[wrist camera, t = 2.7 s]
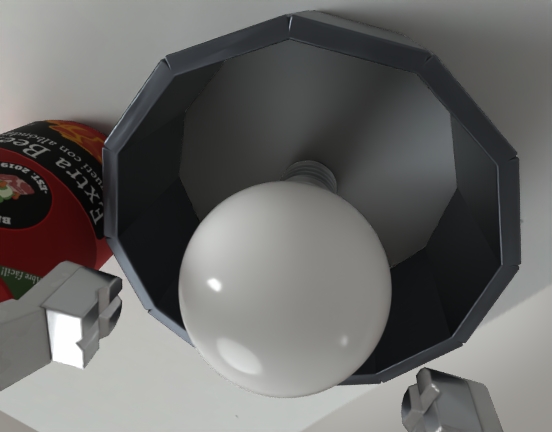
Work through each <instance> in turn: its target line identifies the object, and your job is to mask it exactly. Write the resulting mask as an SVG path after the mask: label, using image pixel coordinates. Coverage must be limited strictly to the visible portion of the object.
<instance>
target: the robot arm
mask: <svg viewBox="0 0 552 432" xmlns="http://www.w3.org/2000/svg"><path fill="white" fill-rule="evenodd" d="M121 290H122V279H121V278H120V277H117V276H114V275H111V274H108V273H105V272H102V271H99V270H96V269H93V268H89V267H86V266H82V265H79V264H76V263H73V262H70V261H64V262H61V263H59V264H58V265H57V266H56V267H55V268H54V269H53V270H51V271H50V272H49V273H48V274H47V275H46V276H45V277H44V278H42V279H41V280H40V281H39V282H38V283H37V284H36V285H34V286H33V287H32V288H31V289H30V290H29V291H28V292H27V293H25V294H24V295H23V296H22V297H21V298H20V299H19V300H14V299H10V300H7V301H4V302H1V303H0V391H2V390H3V389H5V388H7V387H9V386H10V385H12V384H14V383H16V382H17V381H19V380H21V379H23V378H24V377H26V376H28V375H30V374H31V373H33V372H35V371H37V370H38V369H40V368H42V367H44V366H45V365H47V364H49V363H50V362H51V361H55V362H59V363H62V364H66V365H70V366H73V367H77V368H81V369H84V368H85V367H86V366H87V364H88V363H89V362H90V360H91V359H92V357H93V356H94V355H95V353H96V352H97V351H98V349H99V339H101V338H104V337H106V336H108V335H109V334H110V333H111V331H112V330H113V329H114V327H115V325H116V323H117V321H118V319H119V317H120V313H121V309H122V300H121V299H120V297H119V296H118V293H119V292H120V291H121ZM416 378H417V384H414V385H411V386H409V387H408V389H407V391H406V393H405V394H404V397H403V402H402V410H401V414H402V423H403V425H404V426H405V428H406V429H407V431H408V432H503V430H502V427H501V424H500V421H499V419H498V416H497V414H496V411H495V408H494V405H493V403H492V400H491V397H490V395H489V392H488V389H487V388H486V386H485V385H484V384H482V383H478V382H475V381H472V380H468V379H464V378H461V377H458V376H454V375H451V374H447V373H444V372H440V371H437V370H433V369H429V368H426V367H424V368H422V369H420V371H419V372H418V374H417V375H416Z"/></svg>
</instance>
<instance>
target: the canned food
mask: <svg viewBox="0 0 552 432" xmlns="http://www.w3.org/2000/svg"><path fill="white" fill-rule="evenodd" d="M106 139H107V137H106V136H105V135H103V134H102V133H100V132H99V131H97V130H95V129H93V128H91V127H89V126H86V125H83V124H80V123H76V122H71V121H61V120H45V121H37V122H33V123H30V124H27V125H25V126H22V127H19V128H17V129H14V130H11V131H8V132H6V133H3V134H0V303H1V302H4V301H7V300H10V299H14V300H19V299H20V298H21V297H22V296H23V295H24V294H25V293H27V292H28V291H29V290H30V289H31V288H32V287H33V286H34V285H36V284H37V283H38V282H39V281H40V280H41V279H42V278H44V277H45V276H46V275H47V274H48V273H49V272H50V271H51V270H53V269H54V268H55V267H56V266H57V265H58V264H59V263H61V262H64V261H70V262H73V263H76V264H79V265H82V266H86V267H89V268H93V269H96V270H99V269H100V268H101V267H102V266H103V265H104V264H105V262H106V261H107V260H108V259H109V258H110V257H111V256H112V255H113V253H112V251H111V249H110V247H109V246H108V244H107V242H106V240H105V237H106V236H104V235H103V169H102V148H103V147H104V146H105V145H104V142H105V140H106Z"/></svg>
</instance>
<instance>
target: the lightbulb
mask: <svg viewBox="0 0 552 432" xmlns="http://www.w3.org/2000/svg"><path fill="white" fill-rule="evenodd" d="M336 193H337V184H336V180H335V177H334V175H333V174H332V172H331V171H330V170H329V169H328V168H327V167H326V166H324V165H323V164H321V163H318V162H315V161H300V162H297V163H294V164H293V165H291V166H289V167H288V168H287V169H286V170H285V172H284V173H283V175H282V177H281V180H280V181H274V182H267V183H262V184H258V185H254V186H251V187H248V188H246V189H243V190H241V191H239V192H237V193H235V194H233V195H231V196H230V197H228V198H227V199H225V200H224V201H222V202H221V203H220V204H219V205H217V206H216V207H215V208H214V209H213V210H212V211H211V212H210V213H209V214H208V215H207V216H206V217H205V218H204V219H203V221H202V222H201V223H200V224H199V226H198V227H197V229H196V230H195V232H194V234H193V235H192V237H191V239H190V241H189V243H188V246H187V248H186V251H185V253H184V256H183V260H182V263H181V268H180V274H179V283H178V296H179V305H180V311H181V316H182V319H183V323H184V326H185V328H186V331H187V333H188V335H189V338H190V340H191V341H192V343H193V345H194V347H195V348H196V350H197V351H198V353H199V354H200V356H201V357H202V358H203V359H204V361H205V362H206V363H207V364H208V365H209V366H210V367H211V368H212V369H213V370H214V371H215V372H216V373H218V374H219V375H220V376H221V377H223V378H224V379H226V380H227V381H229V382H230V383H232V384H234V385H235V386H237V387H239V388H241V389H244V390H246V391H249V392H251V393H255V394H258V395H262V396H267V397H274V398H297V397H304V396H309V395H313V394H316V393H320V392H322V391H325V390H327V389H330V388H332V387H334V386H336V385H337V384H339V383H341V382H342V381H344V380H345V379H347V378H348V377H349V376H351V375H352V374H353V373H354V372H355V371H357V370H358V369H359V368H360V367H361V366H362V365H363V364H364V362H365V361H366V360H367V359H368V358H369V356H370V355H371V354H372V352H373V351H374V349H375V348H376V346H377V344H378V343H379V341H380V339H381V337H382V334H383V332H384V330H385V327H386V324H387V321H388V317H389V313H390V307H391V299H392V281H391V273H390V268H389V263H388V260H387V256H386V253H385V251H384V248H383V246H382V244H381V241H380V239H379V238H378V236H377V234H376V232H375V231H374V229H373V228H372V226H371V225H370V224H369V222H368V221H367V220H366V219H365V217H364V216H363V215H362V214H361V213H360V212H359V211H358V210H357V209H356V208H355V207H354V206H352V205H351V204H350V203H349V202H347V201H346V200H344V199H343V198H341V197H340V196H338V195H336Z"/></svg>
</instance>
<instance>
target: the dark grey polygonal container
mask: <svg viewBox="0 0 552 432" xmlns="http://www.w3.org/2000/svg"><path fill="white" fill-rule="evenodd" d="M286 40H293V41H297V42H301V43H304V44H308V45H312V46H315V47H319V48H323V49H326V50H330V51H334V52H338V53H341V54H345V55H349V56H352V57H356V58H360V59H363V60H367V61H371V62H374V63H378V64H382V65H385V66H389V67H393V68H396V69H400V70H404V71H408V72H411V73H415V74H417V76H418V77H419V78H420V79H421V80H422V81H423V82H424V84H425V85H426V86H427V87H428V88H429V89H430V91H431V92H432V93H433V94H434V95H435V96H436V98H437V99H438V100H439V101H440V102H441V103H442V104H443V106H444V107H445V108H446V109H447V110H448V111H449V113H450V117H451V128H452V138H453V148H454V159H455V169H456V179H457V189H456V191H455V193H454V195H453V197H452V199H451V201H450V202H449V204H448V206H447V208H446V210H445V212H444V214H443V216H442V217H441V219H440V221H439V223H438V225H437V227H436V229H435V230H434V232H433V234H432V236H431V238H430V240H429V242H428V244H427V245H426V247H425V248H424V249H422V250H421V251H419V252H417V253H416V254H414V255H413V256H411V257H410V258H408V259H406V260H405V261H403V262H402V263H400V264H399V265H397V266H395V267H394V268H392V269H391V270H390V273H391V281H392V299H391V307H390V313H389V317H388V321H387V324H386V327H385V330H384V332H383V334H382V337H381V339H380V341H379V343H378V344H377V346H376V348H375V349H374V351H373V352H372V354H371V355H370V356H369V358H368V359H367V360H366V361H365V362H364V364H363V365H362V366H361V367H360V368H359V369H358V370H357V371H355V372H354V373H353V374H352V375H351V376H349V377H348V378H347V379H345V380H344V381H342V382H341V383H339V384H337V385H336V386H338V385H360V384H380V383H381V381H382V382H383V383H384V382H387V381H389V380H391V379H393V378H395V377H397V376H399V375H401V374H404V373H406V372H408V371H410V370H412V369H414V368H416V367H418V366H420V365H423V364H425V363H427V362H429V361H431V360H433V359H435V358H438V357H440V356H442V355H444V354H446V353H448V352H450V351H452V350H454V349H457V348H459V347H461V346H462V345H463V344H462V343H466V342H467V340H468V339H469V338H470V336H471V335H472V333H473V332H474V331H475V329H476V328H477V327H478V325H479V324H480V322H481V321H482V320H483V318H484V317H485V315H486V314H487V313H488V311H489V310H490V309H491V307H492V306H493V304H494V303H495V302H496V300H497V299H498V297H499V296H500V295H501V293H502V292H503V291H504V289H505V288H506V286H507V285H508V284H509V282H510V281H511V280H512V278H513V277H514V275H515V274H516V273H517V271H518V270H519V266H518V265H520V264H521V233H520V179H519V158H518V157H517V156H516V155H517V152H516V151H515V150H514V148H513V147H512V146H511V145H510V144H509V142H508V141H507V140H506V139H505V138H504V136H503V135H502V134H501V133H500V132H499V130H498V129H497V128H496V127H495V126H494V124H493V123H492V122H491V121H490V120H489V118H488V117H487V116H486V115H485V114H484V112H483V111H482V110H481V109H480V108H479V106H478V105H477V104H476V103H475V102H474V100H473V99H472V98H471V97H470V96H469V94H468V93H467V92H466V91H465V90H464V88H463V87H462V86H461V85H460V84H459V82H458V81H457V80H456V79H455V78H454V77H453V75H452V74H451V73H450V72H449V71H448V69H447V68H446V67H445V66H444V65H443V63H442V62H441V61H440V60H439V59H438V57H437V56H436V55H435V54H433V53H432V52H430V51H428V50H427V49H425V48H424V47H422V46H421V45H419V44H417V43H416V42H414V41H413V40H411V39H410V38H408V37H406V36H405V35H403V34H400V33H397V32H393V31H389V30H386V29H382V28H378V27H374V26H371V25H367V24H363V23H359V22H356V21H352V20H348V19H344V18H341V17H337V16H333V15H329V14H326V13H322V12H318V11H315V10H313V11H302V12H297V13H291V14H285V15H282V16H279V17H276V18H273V19H270V20H268V21H265V22H262V23H259V24H256V25H253V26H250V27H247V28H244V29H241V30H239V31H236V32H233V33H230V34H227V35H224V36H221V37H218V38H215V39H212V40H210V41H207V42H204V43H201V44H198V45H195V46H192V47H189V48H186V49H184V50H181V51H178V52H175V53H172V54H169V55H166V57H165V58H164V59H162V60H160V62H159V63H158V65H157V66H156V68H155V69H154V71H153V72H152V74H151V75H150V76H149V78H148V79H147V81H146V82H145V84H144V85H143V87H142V88H141V89H140V91H139V92H138V94H137V95H136V97H135V98H134V100H133V101H132V103H131V104H130V105H129V107H128V108H127V110H126V111H125V113H124V114H123V116H122V117H121V118H120V120H119V121H118V123H117V124H116V126H115V127H114V129H113V130H112V132H111V133H110V134H109V136H108V137H107V139H106V140H105V142H104V145H105V146H104V147H103V148H102V169H103V235H104V236H106V237H105V240H106V242H107V244H108V246H109V247H110V249H111V251H112V253H113V254H114V256H115V258H116V260H117V261H118V263H119V265H120V267H121V268H122V270H123V272H124V273H125V275H126V277H127V279H128V280H129V282H130V284H131V286H132V287H133V289H134V291H135V293H136V294H137V296H138V298H139V299H140V301H141V303H142V305H143V306H144V308H145V309H146V310H148V313H149V314H151V315H152V316H153V317H155V318H156V319H157V320H158V321H160V322H161V323H162V324H164V325H165V326H166V327H168V328H169V329H170V330H172V331H173V332H174V333H176V334H177V335H178V336H180V337H181V338H182V339H184V340H185V341H186V342H188V343H189V344H190V345H192V346H193V347H194V345H193V343H192V341H191V340H190V338H189V335H188V333H187V331H186V328H185V326H184V323H183V319H182V316H181V311H180V305H179V296H178V283H179V274H180V268H181V263H182V260H183V256H184V253H185V251H186V248H187V246H188V243H189V241H190V239H191V237H192V235H193V234H194V232H195V230H196V229H197V227H198V226H199V221H198V219H197V217H196V215H195V212H194V210H193V208H192V205H191V203H190V201H189V199H188V196H187V194H186V192H185V190H184V187H183V185H182V183H181V180H180V178H179V170H180V160H181V150H182V140H183V131H184V121H185V111H186V110H187V109H188V107H189V106H190V105H191V104H192V102H193V101H194V100H195V99H196V97H197V96H198V95H199V93H200V92H201V91H202V90H203V88H204V87H205V86H206V85H207V83H208V82H209V81H210V80H211V78H212V77H213V76H214V75H215V73H216V72H217V71H218V70H219V68H220V67H221V66H222V64H223V63H224V62H225V61H226V60H228V59H231V58H234V57H237V56H240V55H243V54H246V53H249V52H252V51H256V50H259V49H262V48H265V47H268V46H271V45H274V44H277V43H280V42H283V41H286ZM194 348H195V347H194Z"/></svg>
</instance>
